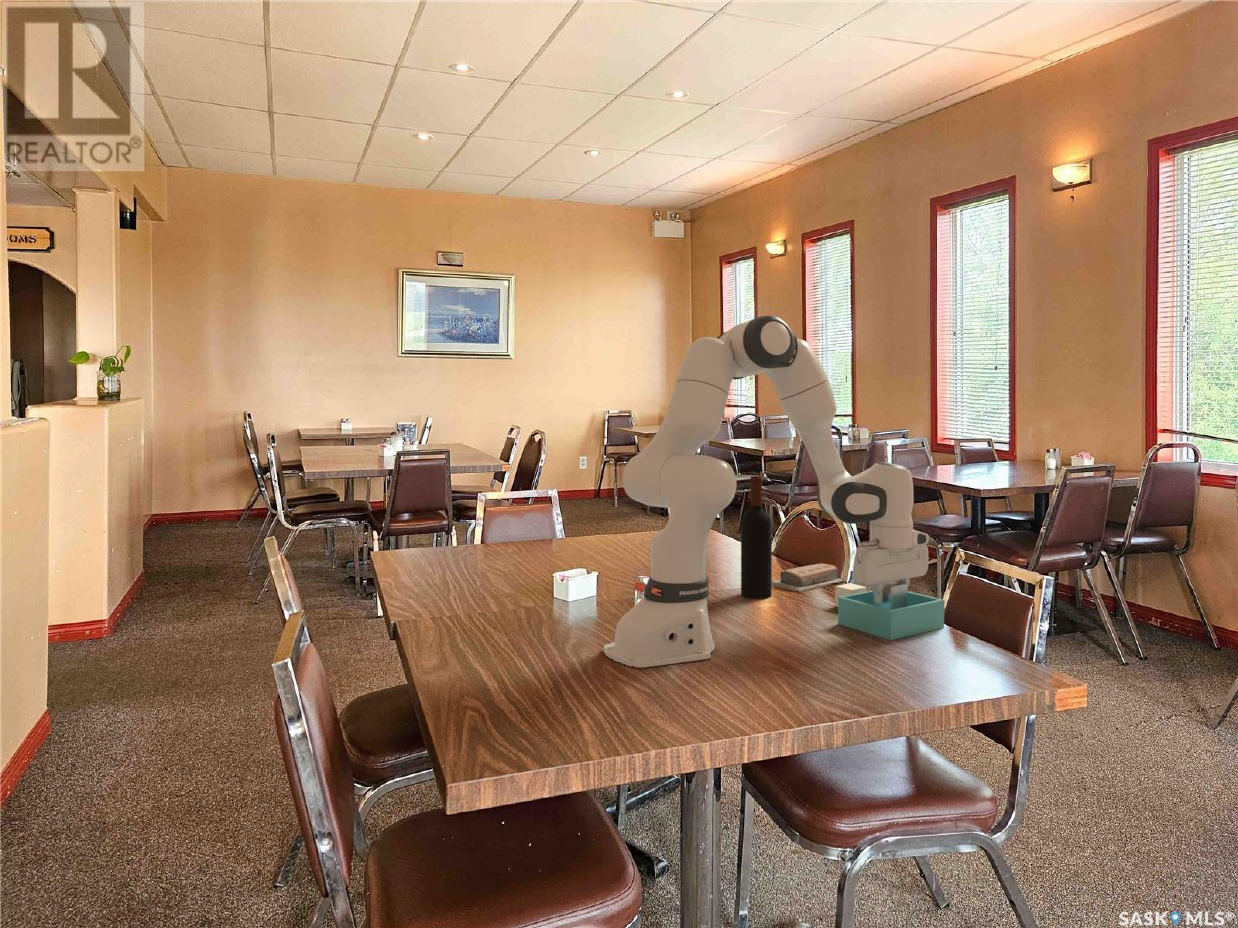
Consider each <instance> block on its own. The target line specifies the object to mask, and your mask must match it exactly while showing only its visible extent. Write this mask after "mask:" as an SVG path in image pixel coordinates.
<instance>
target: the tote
mask: <svg viewBox="0 0 1238 928" xmlns="http://www.w3.org/2000/svg"><path fill="white" fill-rule="evenodd" d="M837 624H838V625H840V626H844V627H846V628H849V629H853V630H857V631H859V632H863V633H866V634H869V635H872V636H876V637H879V638H883V639H885V640H889V641H893V640H898V639H902V638H905V637H910V636H916V635H918V634H922V633H926V632H930V631H936V630H939V629H943V628H944V627H945V599H942V598H937V597H933V596H929V595H926V594H920V593H917V592H913V591H908V590H907V607H903V608H898V609H894V610H889V609H885V608H882V607H878V606H874V605H873V591H872V590H867V592H862V593H857V594H852V595H846V596H841V597H838V607H837Z"/></svg>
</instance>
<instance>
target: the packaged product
mask: <svg viewBox="0 0 1238 928" xmlns="http://www.w3.org/2000/svg"><path fill="white" fill-rule="evenodd" d="M838 570H839V569H838V567H837V566H836V565H833V564H828V563H822V562H821V563H816V564H810V565H809V564H808V565H803V566H800V567H794V568H789V569H785V570H784V569H783V570H781V572H780V579H776V580H772V587H775V588H781V589H784V590H788V591H793V592H796V591H798V593H801V592H802V591H803V592H806V591H805V590H807V591H810V590H815V589H814V588H816V589H819V588H818V587H821V588H824V587H823V586H826V585H829V584H831V583H838V584H840V583H839V582H843V583H845V581H846V579H845V578H840V577H839V572H838ZM826 587H827V586H826Z"/></svg>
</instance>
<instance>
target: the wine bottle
mask: <svg viewBox="0 0 1238 928" xmlns="http://www.w3.org/2000/svg"><path fill="white" fill-rule="evenodd" d="M749 507H750V508H749V510H747V511H746V512H745V513H744V514H743V515H742V517H741V520H740V584H741V585H740V595H741V597H743V598H745V599H749V600H767V599H770V598H772V593H773V590H772V589H773V588H772V587H773V586H772V581H773V580H772V574H773V573H772V568H773V567H772V566H773V564H772V561H773V560H772V559H773V558H772V555H773V554H772V547H773V545H772V544H773V543H772V542H773V541H772V540H773V538H772V536H773V533H772V531H773V530H772V529H773V528H772V527H773V526H772V524H773V523H772V517H771V516H770V514H769V513H767V512H766V511H765V510H764V508H763V476H760V475H751V476H750V506H749Z"/></svg>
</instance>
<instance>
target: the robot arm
mask: <svg viewBox="0 0 1238 928" xmlns="http://www.w3.org/2000/svg"><path fill="white" fill-rule="evenodd" d="M761 374H763V375H765V376H766V377H767V378H768V379H769V380H770V382H771V383H772V385H773V388H774V390H775V393H776V396H777V398H778V401H779V403H780V405H781V407H782V410H783V411H784V414H785V415H786V417H787V418H788V421H789V422H790V424H791V425H792V427H793V428H794V430H795V431H796V432H797V434H798V436H799V438H800V439H801V441H802V443H803V445H804V447H805V450H806V453H807V456H808V458H809V460H810V462H811V466H812V469H813V470H814V474H815V476H816V477H815V478H816V483H817V485H816V500H817V503H818V506H819V507H820V509H821V510H822V512H824V513H825V514H826V515H828V516H829V517H832V518H834V519H837V520H838V521H840V522H842V523H844V524H845V523H846V524H848V525H855V524H861V523H867V522H869V540H868V541H867V540H865V541H862V542H860V544H859V545H858V546H857V548H856V551H855V555H854V559H853V564H852V565H853V566H852V581H853V582H854V584H856V585H860V586H864V587H869V586H870V588H871V591H873V593H874V594H875V602H876V603H879V604H881V603H885V601H886V600H885V598H886V595H884V594H883V593H882V591H881V588H883V583H886V582H892V581H897V582H902V583H906V584H907V589H908V587H909V585H910V583H911V579H912V578H918V577H922V576H925V575H926V574H927V573H928V572H927V571H928V570H929V547H928V545H927V544H928V543H929V540H930V539H929V537H930V536H929V534H928V533H925V532H923V531H922V532H921V531H919V530H917V529H916V530H915V529H914V521H913V517H912V511H913V508H914V507H913V506H914V500H915V499H914V482H913V476H912V472H911V470H910V469H909V468H908V467H906V466H903V465H901V464H896V463H892V462H885V461H878V462H874V464H873V465H872V466H870V467H869V468H867V469H865V470H864V471H862V472H860V473H857V474H854V475H851V474H850V473H849V472H848V471H847V469H846V468H845V466H844V463H843V461H842V458H841V457H840V453H839V450H838V448H837V446H836V444H835V440H834V437H833V434H832V425H833V421H834V419H835V416H836V414H837V404H836V399H835V394H834V392H833V389H832V385H831V383H830V381H829V379H828V375H827V373H826V371H825V369H824V368H823V365H822V364H821V362H820V360H819V358H818V357H817V354H815V352H814V350H813V348H812V347H811V345H810V344H809V343H808V342H807V341H806V340H804V339H801V338H797V336H796V335H795V334H794V333H793V330H792V329H791V328H790V326H789V324H787V323H786V322H785V321H784V320H783V319H781V318H780V317H779V316H778V317H777V316H775V315H762V316H757V317H755V318H752V319H751V320H748V321H745V322H741V323H739V324H737V325H735V326H733V327H732V328H730V329H729V330H727V331H725V332H723V333H721V334H719V336H718V337H712V336H704V337H703V336H702V337H700V338H697V339H695V340H694V341H693V342H692V343H690V345H689V347H688V349H687V351H686V353H685V355H684V358H683V359H682V362H681V364H680V367H679V370H678V372H677V375H676V379H675V381H674V386H673V389H672V390H673V391H672V394H671V397H670V401H669V404H668V407H667V409H666V414H665V416H664V418H663V421H662V423H661V425H660V426H659V428H658V430H657V432H656V433H655V434H654V436H653V437H652V439H651V440H650V441H649V442H648V444H647V445H646V446H645V447H644V448H643V449H642V450H641V451H640V452H638V453H637V454H636V455H634V456H632V457H631V458H630V459H629V460H628V462H627V463H626V465H625V466H624V469H623V473H622V485H623V489H624V492H625V493H626V495H627V496H628V497H629V498H631V499H632V500H633V501H636V502H639V503H641V504H643V505H647V506H648V507H654V508H655V507H657V508H665V509H669V516H668V520H667V523H666V524H665V527H664V528H662V529H660V530H659V531H658V532H656V533H655V534H654V535H653V537H652V538H651V540H650V576H649V578H648V580H647V583H645V582H644V581H641V580H636V581H634V583H633V584H632V585H633V590H634V591H637V592H639V593H643V597H642V598H641V599H640V600H639V601H638V602H637V603H636V604H635V605H634V606H633V607H631V609H630V610H629V611H627V612H626V614H625V615H623V616H622V617H621V618H620V619H619V620H618V622H617V624H616V628H615V634H614V642H609V643H608V644H605V645H604V646H603V654H604V653H605V654H604V655H605V656H607V657H608V658H609V659H611V660H612V659H613V660H612V661H614V662H617V663H619V662H620V663H619V664H621V663H622V665H624V664H625V666H628V667H632V666H633V668H648V667H649V668H650V667H658V666H665V665H666V666H667V665H673V664H679V663H686V662H695V661H702V660H708V659H710V658H711V656H712V655H711V653H712V652H713V651H714V650H715V643H714V639H713V636H712V632H711V631H712V630H711V626H710V620H709V619H710V618H709V611H708V598H709V595H710V594H709V593H710V592H709V578H708V577H707V549H708V539H709V534H710V531H711V528H712V526H713V524H714V522H715V520H716V518H717V517H718V515H719V514H720V513H721V512H722V511H723V510H725V508H727V507H728V506H729V505H730V504H731V502H733V499H734V498H735V495H736V492H737V477H736V473H735V471H734V468H733V467H732V465H730V463H729V462H728V461H727V462H726V461H725V460H722V459H719V458H716V457H713V456H709V455H705V454H697V452H698V451H699V450H700V448H701V447H702V446H703V445H705V444H706V443H707V442H709V441H711V440H712V439H714V438H715V437H716V436H717V435H718V433H719V432H720V429H721V425H722V422H723V418H724V415H725V409H726V406H727V403H728V398H729V393H730V389H731V384H732V382H733V380H742V379H744V378H747V377H751V376H757V375H761Z"/></svg>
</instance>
